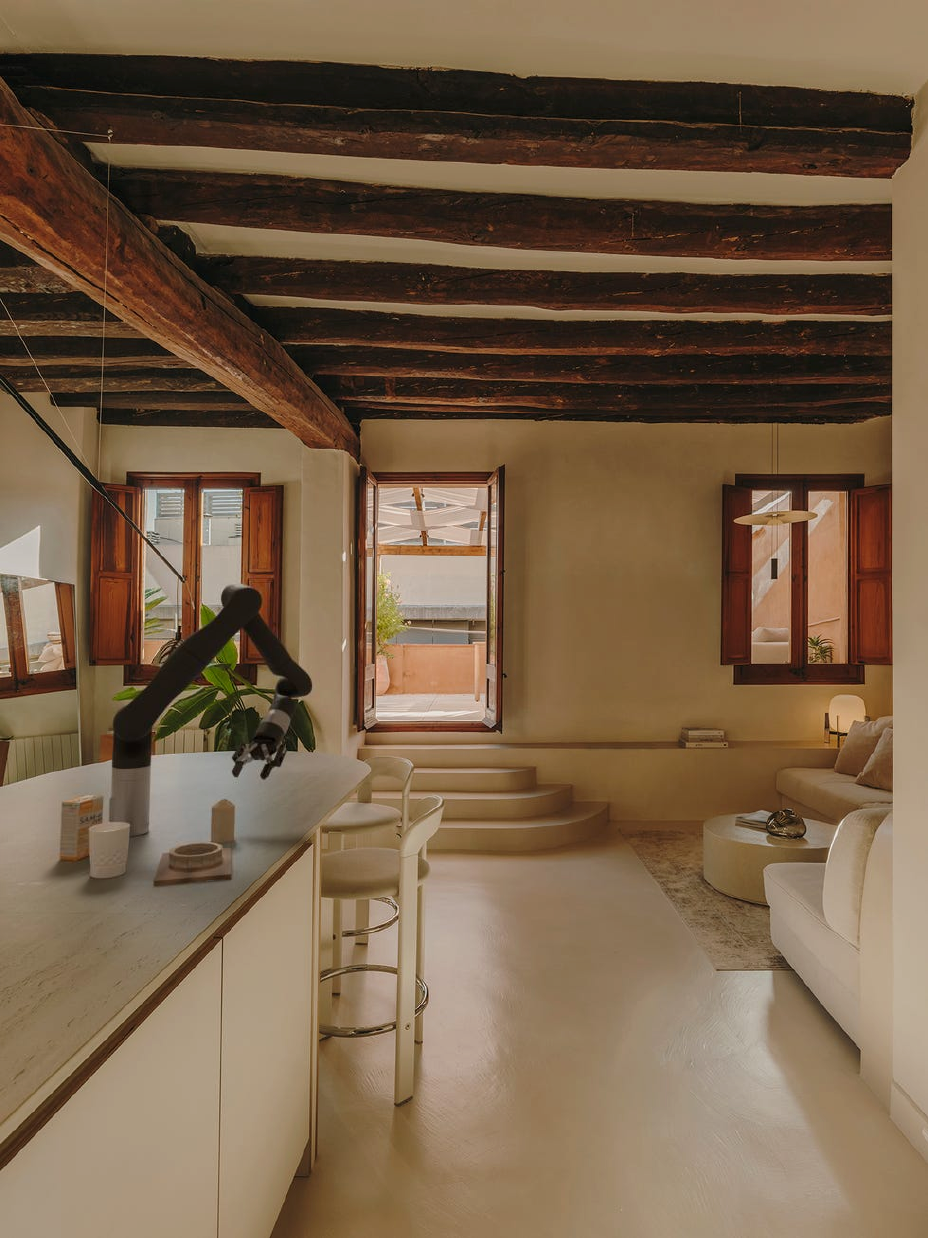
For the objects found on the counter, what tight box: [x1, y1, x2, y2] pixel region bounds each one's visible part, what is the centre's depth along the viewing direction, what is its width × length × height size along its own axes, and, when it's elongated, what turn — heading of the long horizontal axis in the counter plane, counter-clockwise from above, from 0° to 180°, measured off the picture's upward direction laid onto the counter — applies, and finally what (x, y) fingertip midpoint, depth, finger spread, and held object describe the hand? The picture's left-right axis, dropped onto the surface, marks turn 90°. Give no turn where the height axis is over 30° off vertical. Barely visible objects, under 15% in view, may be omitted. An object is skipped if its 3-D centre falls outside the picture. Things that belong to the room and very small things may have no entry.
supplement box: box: [59, 794, 104, 862], centre depth 162 cm, size 8×5×13 cm, turn 168°
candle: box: [210, 798, 236, 844], centre depth 176 cm, size 6×6×10 cm
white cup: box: [88, 821, 130, 879], centre depth 150 cm, size 8×8×10 cm
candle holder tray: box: [153, 841, 232, 887], centre depth 154 cm, size 15×20×4 cm
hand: (248, 776), depth 187 cm, fingers open, 8 cm apart
